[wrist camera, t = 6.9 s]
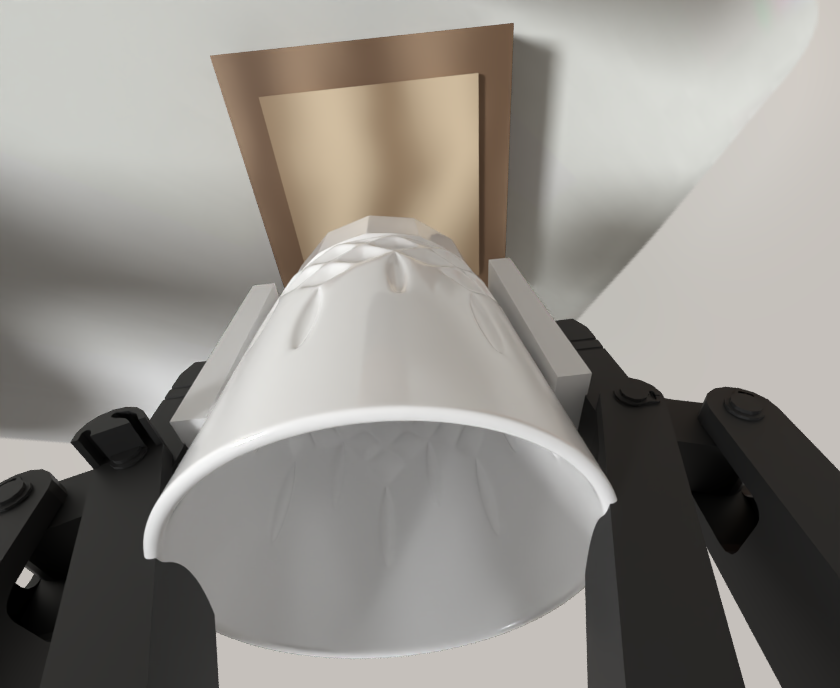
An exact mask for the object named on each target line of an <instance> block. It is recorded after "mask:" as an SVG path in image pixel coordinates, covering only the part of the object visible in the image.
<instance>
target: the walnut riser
mask: <svg viewBox="0 0 840 688" xmlns="http://www.w3.org/2000/svg"><path fill="white" fill-rule="evenodd" d="M513 30H514V23H510V24H500V25H491V26H482V27H472V28H463V29H454V30H445V31H435V32H426V33H417V34H408V35H398V36H389V37H380V38H370V39H361V40H352V41H343V42H333V43H324V44H315V45H305V46H296V47H287V48H278V49H268V50H259V51H250V52H240V53H231V54H222V55H213V56H210V57H211V60H212V63H213V67H214V70H215V73H216V76H217V79H218V82H219V85H220V88H221V92H222V95H223V98H224V101H225V104H226V107H227V110H228V113H229V117H230V120H231V123H232V126H233V129H234V132H235V135H236V138H237V142H238V145H239V148H240V151H241V154H242V157H243V160H244V163H245V167H246V170H247V173H248V176H249V179H250V182H251V185H252V188H253V192H254V195H255V198H256V201H257V204H258V207H259V210H260V213H261V217H262V220H263V223H264V226H265V229H266V232H267V235H268V238H269V241H270V245H271V248H272V251H273V254H274V257H275V260H276V263H277V266H278V270H279V273H280V276H281V279H282V282H283V285H284V288H286V286H287V285H288V283H289V282H290V280H291V279H292V278H293V276H294V275H295V274H297V273H298V271H299V269H300V267H301V265H302V264H303V263H304V262H305V260H306V259H307V258H308V257H309V255H310V254H311V253H312V252H313V250H314V249H315V248H316V247H317V245H318V244H319V243H320V242H321V241H322V239H323V238H324V237H325V236H326V234H327V233H328V232H331V231H333V230H335V229H338V228H340V227H342V226H345V225H347V224H349V223H352V222H354V221H357V220H359V219H361V218H364V217H366V216H369V215H372V216H389V217H406V218H415V219H417V220H419V221H420V222H422V223H424V224H426V225H427V226H429V227H431V228H433V229H435V230H436V231H438V232H440V233H442V234H443V235H445V236H447V237H449V238H450V239H452V240H453V242H454V243H455V245H456V246H457V248H458V249H459V251H460V253H461V254H462V256H463V257H464V259H465V260H466V262H467V263H468V265H469V266H470V268H471V270H472V271H473V272H474V273H475V274H476V275H477V276H478V277H479V278H480V279H481V280H482V281H483V282H484V283H485V285H486V286H487V288H488V265H489V260H491V259H500V258H505V248H506V221H507V193H508V166H509V139H510V112H511V85H512V57H513Z"/></svg>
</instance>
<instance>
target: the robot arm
mask: <svg viewBox="0 0 840 688" xmlns="http://www.w3.org/2000/svg"><path fill="white" fill-rule="evenodd" d="M488 290H489V291H490V293H491V294H492V296H493V297H494V298H495V300H496V301H497V302H498V304H499V305H500V306H501V308H502V309H503V311H504V313H505V315H506V316H507V318H508V319H509V321H510V323H511V324H512V326H513V328H514V329H515V331H516V333H517V334H518V336H519V337H520V339H521V341H522V342H523V344H524V346H525V347H526V349H527V350H528V352H529V353H530V355H531V356H532V358H533V359H534V361H535V363H536V364H537V366H538V367H539V369H540V371H541V372H542V374H543V376H544V377H545V379H546V381H547V382H548V384H549V385H550V387H551V389H552V390H553V392H554V393H555V395H556V397H557V398H558V400H559V402H560V403H561V405H562V406H563V408H564V410H565V411H566V413H567V414H568V416H569V418H570V419H571V421H572V422H573V424H574V426H575V427H576V429H577V430H578V432H579V434H580V435H581V437H582V438H583V440H584V442H585V443H586V445H587V446H588V448H589V450H590V451H591V453H592V454H593V456H594V458H595V459H596V461H597V462H598V464H599V466H600V467H601V469H602V470H603V472H604V474H605V475H606V477H607V478H608V480H609V482H610V483H611V485H612V487H613V489H614V491H615V494H616V497H617V501H616V502H615V503H612V504H610V505H609V507H608V510H607V512H606V513H605V515H603V516H602V517H600V518H599V520H598V521H597V523H596V525H595V528H594V530H593V534H592V537H591V541H590V546H589V551H588V557H587V563H586V570H585V596H586V633H587V672H588V688H745V685H744V681H743V678H742V674H741V670H740V667H739V663H738V660H737V656H736V652H735V649H734V645H733V642H732V638H731V634H730V631H729V627H728V623H727V620H726V616H725V613H724V609H723V605H722V602H721V598H720V595H719V591H718V588H717V584H716V580H715V576H714V573H713V569H712V566H711V562H710V558H709V555H708V551H707V549H708V550H709V553H710V554H711V556H712V558H713V560H714V562H715V563H716V566H717V567H718V569H719V571H720V573H721V575H722V577H723V578H724V580H725V582H726V584H727V586H728V588H729V590H730V592H731V594H732V595H733V597H734V599H735V601H736V603H737V604H738V606H739V608H740V610H741V612H742V614H743V616H744V617H745V620H746V622H747V623H748V625H749V627H750V629H751V631H752V633H753V635H754V636H755V638H756V640H757V642H758V644H759V646H760V647H761V649H762V651H763V653H764V655H765V657H766V659H767V660H768V662H769V664H770V666H771V668H772V670H773V672H774V674H775V676H776V677H777V679H778V681H779V683H780V685H781V687H782V688H840V471H839V470H838V469H837V468H836V467H835V466H834V465H833V464H832V463H831V462H830V461H829V460H828V459H827V458H826V457H825V456H824V455H823V454H822V453H821V451H820V450H819V449H818V448H817V447H816V446H815V445H814V444H813V443H812V442H811V441H810V440H809V439H808V438H807V437H806V436H805V435H804V434H803V433H802V432H801V431H800V430H799V429H798V428H797V427H796V426H795V425H794V424H793V423H792V422H791V421H790V420H789V418H787V416H786V415H785V414H784V413H783V412H782V411H781V410H780V409H779V408H778V407H777V406H775V405H774V404H773V403H771V402H770V401H769V400H768V399H765V398H764V397H762V396H760V395H758V394H756V393H754V392H750V391H747V390H743V389H740V388H732V387H731V388H730V387H722V388H715V389H713V390H712V391H710V392H709V393H708V394H707V396H706V398H705V400H704V402H703V403H697V402H689V401H680V400H671V399H666V398H664V397H663V395H662V393H661V392H660V391H658V390H657V389H656V388H655V387H654V386H652V385H650V384H648V383H646V382H643V381H641V380H637V379H633V378H629V377H628V376H627V375H626V374H625V373H624V371H623V370H622V369H621V368H620V367H619V365H618V364H617V363H616V362H615V360H614V359H613V358H612V357H611V356H610V354H609V353H608V352H607V351H606V350H605V349H603V346H602V345H601V343H600V342H599V341H598V340H596V338H595V336H594V335H593V334H592V333H591V331H590V330H589V329H588V328H587V327H586V326H584V325H583V324H581V323H579V322H577V321H576V320H574V319H567V320H558V321H555V320H554V319H553V318H552V316H551V315H550V313H549V312H548V311H547V309H546V308H545V306H544V305H543V303H542V302H541V301H540V299H539V298H538V296H537V295H536V294H535V292H534V291H533V289H532V288H531V287H530V285H529V284H528V282H527V281H526V280H525V278H524V277H523V275H522V274H521V273H520V271H519V270H518V268H517V267H516V266H515V264H514V263H513V261H512V260H511V259H510V258H500V259H491V260H489V265H488ZM278 298H279V295H278V292H277V288H276V285H275V283H270V284H261V285H253V286H252V288H251V290H250V291H249V293H248V294H247V296H246V298H245V299H244V301H243V303H242V304H241V306H240V308H239V309H238V311H237V312H236V314H235V316H234V317H233V319H232V321H231V322H230V324H229V326H228V327H227V329H226V330H225V332H224V334H223V335H222V337H221V339H220V340H219V342H218V344H217V345H216V347H215V348H214V350H213V352H212V353H211V355H210V357H209V358H208V360H207V361H205V362H196V363H194V364H193V365H191V366H190V367H189V368H188V369H186V370H185V371H184V372H183V373H182V374H180V376H179V377H178V379H177V380H176V382H175V383H174V385H173V386H172V390H170V391H169V392H168V394H167V395H166V397H165V400H163V401H162V403H161V404H160V406H159V407H158V409H157V410H156V412H155V413H154V414H153V416H152V417H151V419H150V420H149V419H148V417H147V416H146V414H145V413H144V411H143V410H141V409H139V408H137V407H124V408H120V409H115V410H112V411H110V412H107V413H105V414H102V415H100V416H98V417H97V418H95V419H93V420H92V421H90V422H89V423H87V424H86V425H85V426H84V427H82V428H81V429H80V430H79V431H78V432H77V433H76V434H75V436H74V438H73V439H72V441H71V444H72V445H73V446H74V447H75V448H76V449H77V450H78V451H79V453H80V454H81V455H82V456H83V457H84V458H85V459H86V461H87V462H88V463H89V464H90V465H91V466H92V468H93V470H91V471H88V472H85V473H82V474H79V475H76V476H73V477H70V478H67V479H64V480H61V481H58V480H57V479H56V478H55V477H54V476H53V475H52V474H51V473H50V472H48V471H45V470H43V469H40V470H30V471H27V472H24V473H21V474H18V475H15V476H13V477H11V478H9V479H7V480H5V481H3V482H1V483H0V688H219V684H218V683H219V682H218V666H217V647H216V629H215V614H214V612H213V609H212V607H211V605H210V602H209V600H208V598H207V596H206V594H205V592H204V590H203V589H202V587H201V585H200V584H199V582H198V581H197V579H196V578H195V577H194V575H193V574H192V573H191V572H190V571H189V570H188V569H187V568H185V567H184V566H182V565H181V564H178V563H175V562H161V561H159V560H158V559H156V558H154V559H146V558H145V557H144V552H143V538H144V531H145V527H146V523H147V520H148V518H149V515H150V513H151V511H152V509H153V507H154V505H155V503H156V502H157V500H158V498H159V497H160V495H161V493H162V492H163V490H164V488H165V487H166V485H167V483H168V482H169V480H170V478H171V477H172V475H173V473H174V472H175V470H176V468H177V467H178V465H179V463H180V462H181V460H182V458H183V457H184V455H185V453H186V452H187V450H188V448H189V447H190V445H191V443H192V442H193V440H194V438H195V437H196V435H197V433H198V432H199V430H200V428H201V427H202V425H203V423H204V422H205V420H206V418H207V417H208V415H209V413H210V412H211V410H212V408H213V407H214V405H215V403H216V401H217V400H218V398H219V396H220V395H221V393H222V391H223V389H224V388H225V386H226V384H227V383H228V381H229V379H230V377H231V376H232V374H233V372H234V371H235V369H236V367H237V365H238V364H239V362H240V360H241V359H242V357H243V355H244V353H245V352H246V350H247V348H248V347H249V345H250V343H251V341H252V340H253V338H254V336H255V335H256V333H257V331H258V330H259V328H260V326H261V325H262V323H263V321H264V320H265V318H266V317H267V315H268V313H269V312H270V310H271V309H272V308H273V306H274V305H275V303H276V302H277V300H278ZM706 547H707V548H706ZM24 567H26V568H27V569H28V570H29V571H31V572H32V573H34V575H33V577H32V579H31V581H30V582H29V583H28V585H27V586H26V587H25V588H22V587H20V586H19V585H17V584H16V583H15V582H16V581H17V579H18V577H19V575H20V574H21V572H22V571H23V569H24Z"/></svg>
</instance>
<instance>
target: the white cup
mask: <svg viewBox="0 0 840 688" xmlns="http://www.w3.org/2000/svg"><path fill="white" fill-rule="evenodd" d="M616 501H617V497H616V494H615V491H614V489H613V487H612V485H611V483H610V482H609V480H608V478H607V477H606V475H605V474H604V472H603V470H602V469H601V467H600V466H599V464H598V462H597V461H596V459H595V458H594V456H593V454H592V453H591V451H590V450H589V448H588V446H587V445H586V443H585V442H584V440H583V438H582V437H581V435H580V434H579V432H578V430H577V429H576V427H575V426H574V424H573V422H572V421H571V419H570V418H569V416H568V414H567V413H566V411H565V410H564V408H563V406H562V405H561V403H560V402H559V400H558V398H557V397H556V395H555V393H554V392H553V390H552V389H551V387H550V385H549V384H548V382H547V381H546V379H545V377H544V376H543V374H542V372H541V371H540V369H539V367H538V366H537V364H536V363H535V361H534V359H533V358H532V356H531V355H530V353H529V352H528V350H527V349H526V347H525V346H524V344H523V342H522V341H521V339H520V337H519V336H518V334H517V333H516V331H515V329H514V328H513V326H512V324H511V323H510V321H509V319H508V318H507V316H506V315H505V313H504V311H503V309H502V308H501V306H500V305H499V304H498V302H497V301H496V300H495V298H494V297H493V296H492V294H491V293H490V291H489V290H488V288H487V286H486V285H485V283H484V282H483V281H482V280H481V279H480V278H479V277H478V276H477V275H476V274H475V273H474V272H473V271H472V270H471V268H470V266H469V265H468V263H467V262H466V260H465V259H464V257H463V256H462V254H461V253H460V251H459V249H458V248H457V246H456V245H455V243H454V242H453V240H452V239H450V238H449V237H447V236H445V235H443V234H442V233H440V232H438V231H436V230H435V229H433V228H431V227H429V226H427V225H426V224H424V223H422V222H420V221H419V220H417V219H415V218H406V217H389V216H372V215H369V216H366V217H364V218H361V219H359V220H357V221H354V222H352V223H349V224H347V225H345V226H342V227H340V228H338V229H335V230H333V231H331V232H328V233H327V234H326V236H325V237H324V238H323V239H322V241H321V242H320V243H319V244H318V245H317V247H316V248H315V249H314V250H313V252H312V253H311V254H310V255H309V257H308V258H307V259H306V260H305V262H304V263H303V264H302V265H301V267H300V269H299V271H298V273H297V274H295V275H294V276H293V278H292V279H291V280H290V282H289V283H288V285H287V286H286V288H285V289H284V291H283V292H282V294H281V296H280V297H279V298H278V300H277V302H276V303H275V305H274V306H273V308H272V309H271V310H270V312H269V313H268V315H267V317H266V318H265V320H264V321H263V323H262V325H261V326H260V328H259V330H258V331H257V333H256V335H255V336H254V338H253V340H252V341H251V343H250V345H249V347H248V348H247V350H246V352H245V353H244V355H243V357H242V359H241V360H240V362H239V364H238V365H237V367H236V369H235V371H234V372H233V374H232V376H231V377H230V379H229V381H228V383H227V384H226V386H225V388H224V389H223V391H222V393H221V395H220V396H219V398H218V400H217V401H216V403H215V405H214V407H213V408H212V410H211V412H210V413H209V415H208V417H207V418H206V420H205V422H204V423H203V425H202V427H201V428H200V430H199V432H198V433H197V435H196V437H195V438H194V440H193V442H192V443H191V445H190V447H189V448H188V450H187V452H186V453H185V455H184V457H183V458H182V460H181V462H180V463H179V465H178V467H177V468H176V470H175V472H174V473H173V475H172V477H171V478H170V480H169V482H168V483H167V485H166V487H165V488H164V490H163V492H162V493H161V495H160V497H159V498H158V500H157V502H156V503H155V505H154V507H153V509H152V511H151V513H150V515H149V518H148V520H147V523H146V527H145V531H144V538H143V552H144V557H145V558H146V559H154V558H156V559H158V560H159V561H161V562H175V563H178V564H181V565H182V566H184V567H185V568H187V569H188V570H189V571H190V572H191V573H192V574H193V575H194V577H195V578H196V579H197V581H198V582H199V584H200V585H201V587H202V589H203V590H204V592H205V594H206V596H207V598H208V600H209V602H210V605H211V607H212V609H213V612H214V614H215V629H216V632H218V633H220V634H222V635H225V636H227V637H230V638H232V639H235V640H238V641H241V642H244V643H247V644H250V645H254V646H258V647H262V648H266V649H270V650H274V651H279V652H285V653H291V654H297V655H305V656H314V657H325V658H345V659H369V658H389V657H401V656H410V655H418V654H425V653H431V652H437V651H443V650H448V649H452V648H457V647H461V646H465V645H469V644H472V643H476V642H480V641H483V640H487V639H490V638H493V637H496V636H499V635H502V634H504V633H507V632H510V631H512V630H514V629H517V628H519V627H522V626H524V625H526V624H528V623H530V622H532V621H534V620H537V619H538V618H541V617H542V616H544V615H546V614H548V613H550V612H551V611H553V610H555V609H556V608H558V607H559V606H561V605H563V604H564V603H565V602H567V601H568V600H570V599H571V598H572V597H574V596H575V595H576V594H577V593H579V592H580V591H581V590H582V589H583V588H584V587H585V570H586V563H587V557H588V551H589V546H590V541H591V537H592V534H593V530H594V528H595V525H596V523H597V521H598V520H599V518H600V517H602V516H603V515H605V513H606V512H607V510H608V507H609V505H610V504H612V503H615V502H616Z"/></svg>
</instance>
